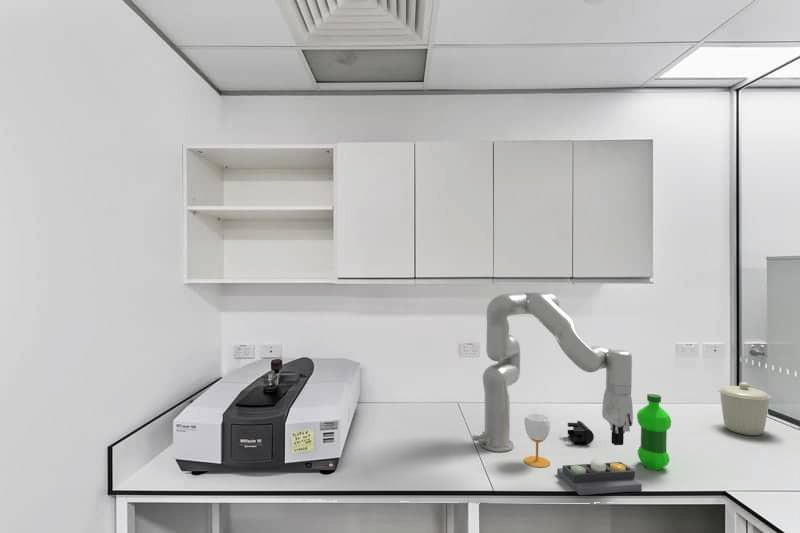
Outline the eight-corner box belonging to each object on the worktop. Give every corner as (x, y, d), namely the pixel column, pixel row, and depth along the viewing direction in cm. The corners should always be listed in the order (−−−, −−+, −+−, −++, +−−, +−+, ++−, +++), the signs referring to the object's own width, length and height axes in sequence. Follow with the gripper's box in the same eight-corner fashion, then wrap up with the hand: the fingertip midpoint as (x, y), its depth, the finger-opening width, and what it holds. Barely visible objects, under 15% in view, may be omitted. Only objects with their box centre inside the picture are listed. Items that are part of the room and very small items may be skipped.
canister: (762, 442, 184) (763, 390, 183) (711, 429, 198) (711, 380, 198) (776, 433, 194) (777, 383, 194) (727, 421, 209) (727, 375, 209)
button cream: (595, 475, 146) (595, 467, 146) (587, 468, 151) (587, 461, 151) (608, 474, 147) (608, 466, 147) (600, 467, 152) (600, 460, 152)
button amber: (615, 477, 147) (615, 469, 147) (607, 470, 152) (607, 463, 152) (628, 476, 148) (628, 468, 148) (619, 469, 153) (619, 462, 153)
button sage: (575, 479, 145) (575, 472, 145) (567, 473, 150) (567, 465, 150) (588, 479, 146) (588, 471, 146) (580, 472, 151) (580, 464, 151)
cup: (525, 455, 170) (525, 411, 170) (551, 459, 166) (551, 415, 166) (522, 465, 161) (522, 419, 161) (549, 469, 158) (550, 423, 158)
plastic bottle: (653, 475, 154) (654, 401, 154) (629, 461, 165) (630, 392, 164) (677, 471, 157) (678, 398, 157) (652, 458, 167) (653, 390, 167)
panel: (579, 495, 141) (579, 480, 141) (557, 474, 154) (557, 461, 154) (641, 490, 144) (641, 476, 144) (614, 470, 158) (614, 457, 158)
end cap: (594, 446, 179) (594, 429, 178) (575, 446, 179) (575, 428, 179) (584, 437, 188) (584, 420, 188) (567, 436, 189) (567, 420, 189)
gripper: (594, 382, 157) (593, 436, 157) (622, 395, 142) (621, 454, 142) (615, 382, 158) (613, 435, 158) (644, 394, 143) (643, 453, 143)
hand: (617, 444), depth 150 cm, fingers closed
